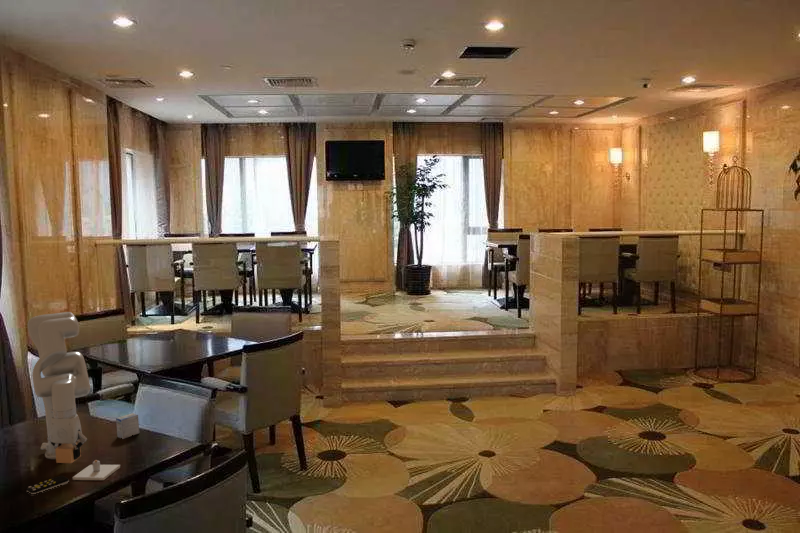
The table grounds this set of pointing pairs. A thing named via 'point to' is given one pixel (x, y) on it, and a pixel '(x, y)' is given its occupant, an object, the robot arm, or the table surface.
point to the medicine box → (127, 425)
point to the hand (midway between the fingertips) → (68, 457)
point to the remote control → (47, 484)
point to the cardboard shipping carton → (65, 453)
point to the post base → (98, 474)
